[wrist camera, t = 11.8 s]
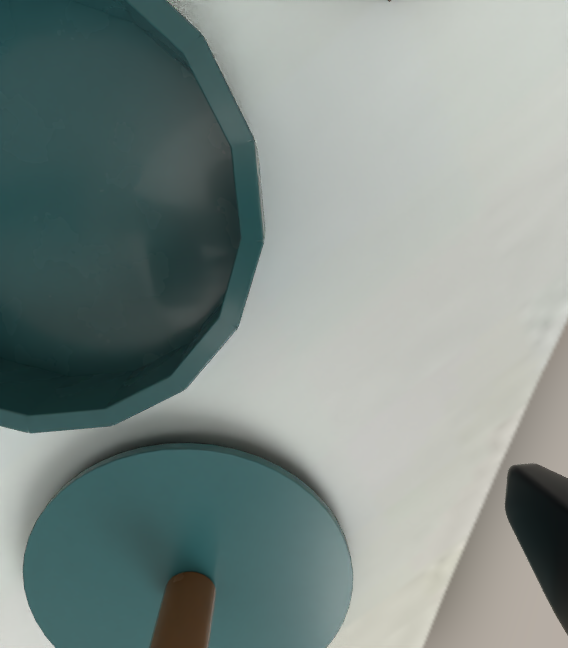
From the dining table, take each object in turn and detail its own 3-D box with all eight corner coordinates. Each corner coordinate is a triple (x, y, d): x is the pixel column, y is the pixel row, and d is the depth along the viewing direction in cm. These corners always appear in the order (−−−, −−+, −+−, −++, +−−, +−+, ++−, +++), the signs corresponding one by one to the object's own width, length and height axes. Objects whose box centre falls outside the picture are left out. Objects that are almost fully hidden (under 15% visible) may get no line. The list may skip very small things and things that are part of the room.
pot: (-204, 233, 16) (-337, 244, 12) (-10, -140, 13) (-115, -265, 9) (123, 445, 19) (90, 502, 15) (341, 185, 16) (361, 183, 12)
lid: (-24, 590, 21) (-114, 711, 16) (156, 369, 18) (112, 435, 13) (222, 718, 24) (210, 850, 19) (412, 550, 21) (455, 658, 16)
